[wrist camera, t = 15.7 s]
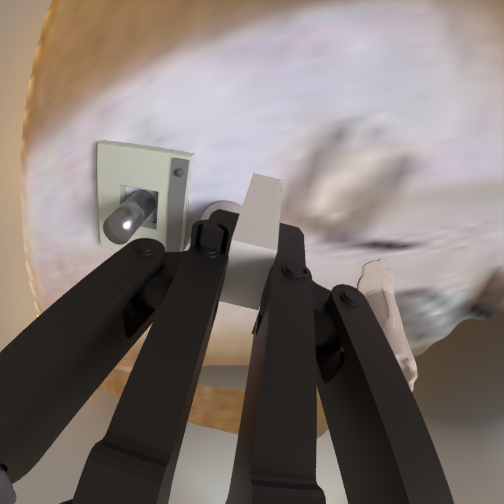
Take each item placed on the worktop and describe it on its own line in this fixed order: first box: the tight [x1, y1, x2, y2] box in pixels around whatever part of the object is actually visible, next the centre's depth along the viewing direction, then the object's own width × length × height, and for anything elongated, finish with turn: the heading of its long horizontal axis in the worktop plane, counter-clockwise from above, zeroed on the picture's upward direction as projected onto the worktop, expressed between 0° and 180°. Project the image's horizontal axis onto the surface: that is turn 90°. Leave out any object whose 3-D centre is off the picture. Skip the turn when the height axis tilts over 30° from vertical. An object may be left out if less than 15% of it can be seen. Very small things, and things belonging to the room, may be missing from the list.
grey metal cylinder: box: [103, 190, 156, 245], centre depth 45 cm, size 5×5×10 cm
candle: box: [358, 259, 417, 392], centre depth 45 cm, size 7×14×20 cm, turn 18°
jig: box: [97, 140, 194, 252], centre depth 48 cm, size 20×16×3 cm
